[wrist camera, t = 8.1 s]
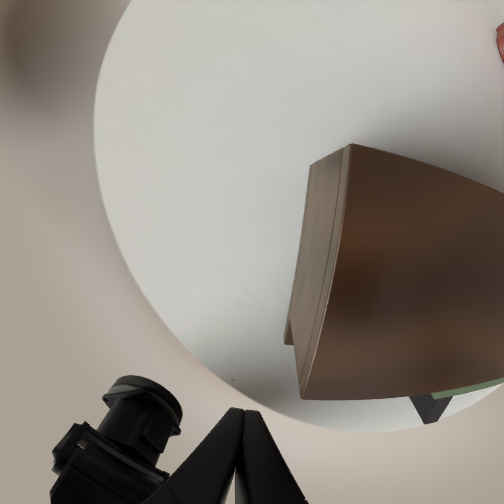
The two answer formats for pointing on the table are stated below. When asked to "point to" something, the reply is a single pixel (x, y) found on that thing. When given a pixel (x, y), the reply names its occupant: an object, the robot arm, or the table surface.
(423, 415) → the sliding door
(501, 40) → the flower pot
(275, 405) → the table surface
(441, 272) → the cupboard
